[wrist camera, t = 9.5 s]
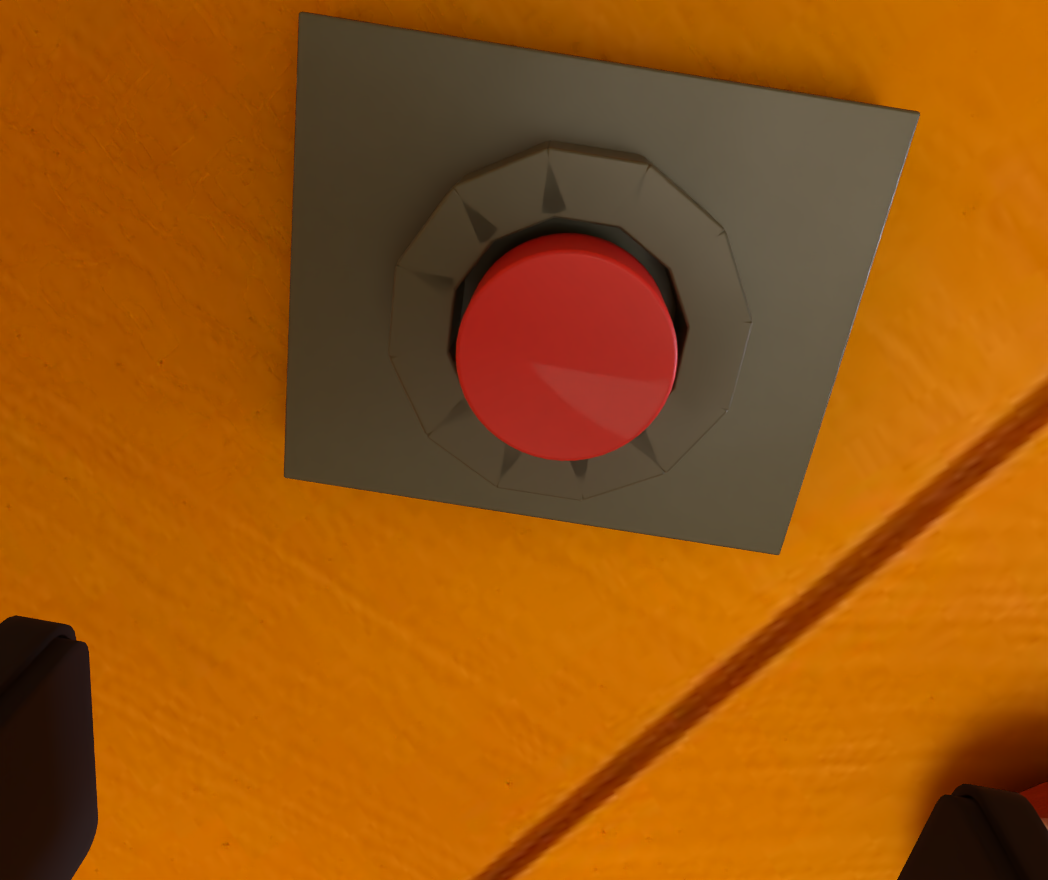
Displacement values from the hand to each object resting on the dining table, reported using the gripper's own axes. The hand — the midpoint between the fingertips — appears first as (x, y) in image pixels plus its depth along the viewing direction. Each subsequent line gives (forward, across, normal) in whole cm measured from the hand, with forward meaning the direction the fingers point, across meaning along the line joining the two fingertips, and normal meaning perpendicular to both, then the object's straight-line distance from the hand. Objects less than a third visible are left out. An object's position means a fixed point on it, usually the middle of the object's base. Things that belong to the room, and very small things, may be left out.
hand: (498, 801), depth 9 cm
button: (+9, 0, -3) cm, 10 cm away
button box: (+13, 0, -3) cm, 13 cm away
